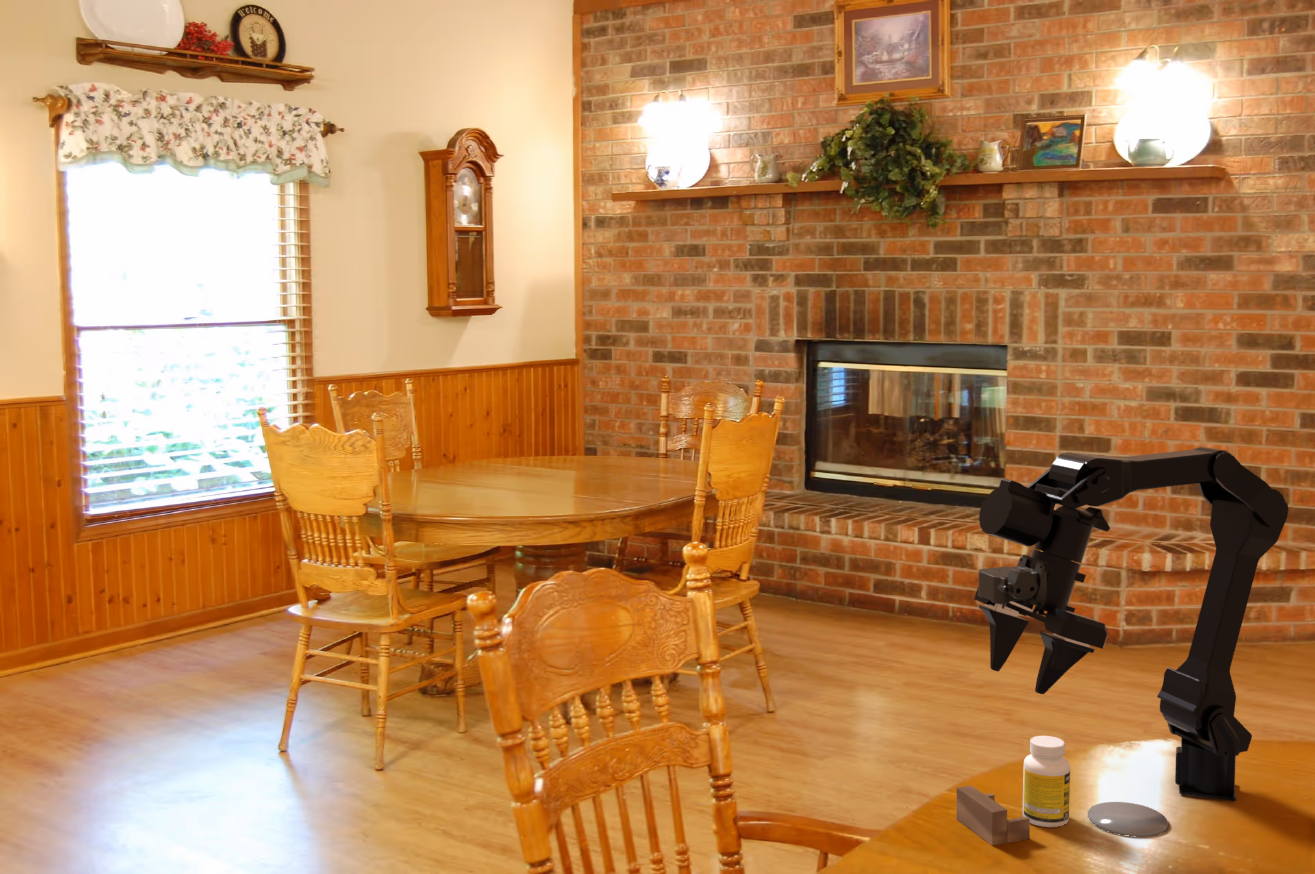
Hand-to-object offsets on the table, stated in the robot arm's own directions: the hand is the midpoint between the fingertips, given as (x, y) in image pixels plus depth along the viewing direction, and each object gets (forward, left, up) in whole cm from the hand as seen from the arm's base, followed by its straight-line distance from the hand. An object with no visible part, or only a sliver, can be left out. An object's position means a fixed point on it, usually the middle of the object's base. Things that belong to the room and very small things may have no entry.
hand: (1016, 681), depth 147 cm
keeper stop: (+2, +3, -18) cm, 18 cm away
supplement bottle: (-3, -2, -18) cm, 18 cm away
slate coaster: (-12, -5, -18) cm, 22 cm away
